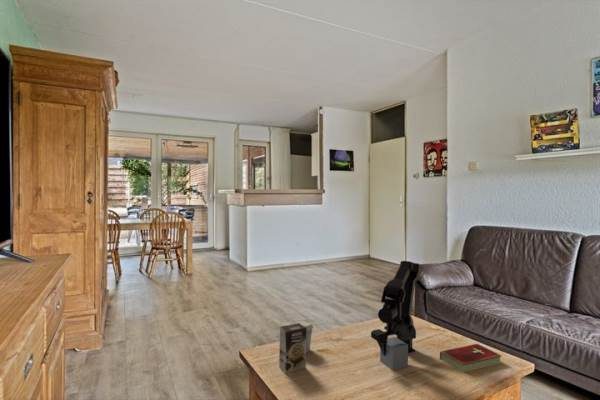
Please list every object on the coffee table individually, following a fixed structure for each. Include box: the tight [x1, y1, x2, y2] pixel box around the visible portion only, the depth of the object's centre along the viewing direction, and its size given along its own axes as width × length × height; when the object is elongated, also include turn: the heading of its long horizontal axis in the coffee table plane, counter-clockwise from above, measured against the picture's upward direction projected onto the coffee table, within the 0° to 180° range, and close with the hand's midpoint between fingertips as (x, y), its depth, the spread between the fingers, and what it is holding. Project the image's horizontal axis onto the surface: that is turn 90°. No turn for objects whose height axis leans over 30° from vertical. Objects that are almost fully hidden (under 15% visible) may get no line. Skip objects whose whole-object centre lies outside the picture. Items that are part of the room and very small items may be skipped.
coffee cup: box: [294, 319, 314, 354], centre depth 147 cm, size 8×8×12 cm
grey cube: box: [379, 336, 409, 371], centre depth 136 cm, size 8×8×9 cm
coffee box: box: [278, 323, 307, 374], centre depth 132 cm, size 9×6×16 cm
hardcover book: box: [439, 343, 502, 373], centre depth 138 cm, size 12×21×4 cm, turn 111°
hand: (393, 353), depth 136 cm, fingers open, 9 cm apart
